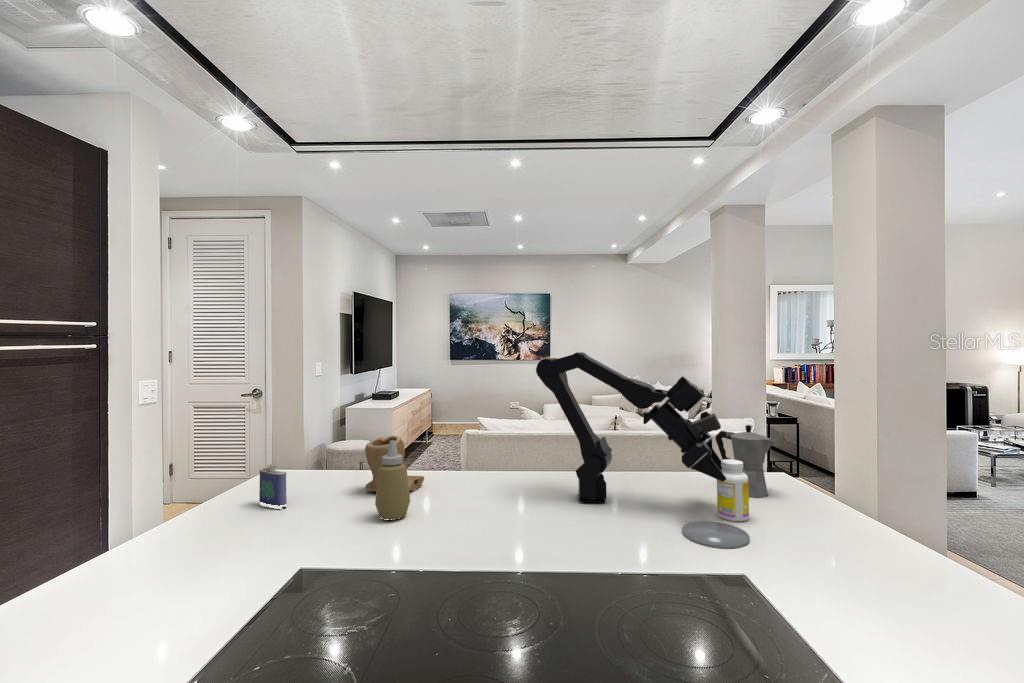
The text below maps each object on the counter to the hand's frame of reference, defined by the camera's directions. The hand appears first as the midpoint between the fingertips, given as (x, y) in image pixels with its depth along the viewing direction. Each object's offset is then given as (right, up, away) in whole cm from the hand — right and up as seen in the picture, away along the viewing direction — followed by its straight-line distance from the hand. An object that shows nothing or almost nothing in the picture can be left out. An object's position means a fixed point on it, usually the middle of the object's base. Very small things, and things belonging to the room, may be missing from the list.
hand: (724, 474), depth 111 cm
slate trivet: (-7, -10, -11) cm, 16 cm away
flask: (-110, -11, +10) cm, 111 cm away
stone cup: (-83, -11, +22) cm, 86 cm away
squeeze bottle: (-77, -11, +2) cm, 78 cm away
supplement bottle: (+2, -10, -1) cm, 10 cm away
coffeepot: (+13, -10, +18) cm, 24 cm away
